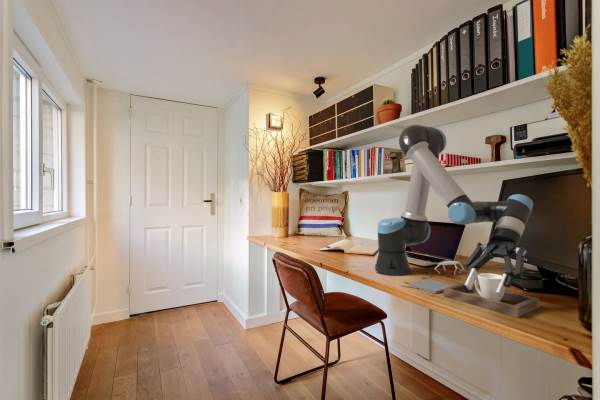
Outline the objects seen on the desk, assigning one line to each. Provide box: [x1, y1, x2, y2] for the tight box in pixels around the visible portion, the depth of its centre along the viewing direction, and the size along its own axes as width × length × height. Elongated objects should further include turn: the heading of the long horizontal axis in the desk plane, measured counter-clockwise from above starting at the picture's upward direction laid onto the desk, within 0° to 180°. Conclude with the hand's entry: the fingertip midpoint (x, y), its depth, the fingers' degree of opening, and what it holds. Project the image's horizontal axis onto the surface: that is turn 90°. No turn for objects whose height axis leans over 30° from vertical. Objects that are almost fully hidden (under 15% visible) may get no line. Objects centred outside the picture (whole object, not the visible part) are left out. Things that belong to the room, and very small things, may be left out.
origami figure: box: [433, 260, 465, 276], centre depth 123 cm, size 12×8×5 cm
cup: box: [474, 272, 503, 302], centre depth 89 cm, size 7×10×8 cm
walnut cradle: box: [443, 281, 540, 318], centre depth 89 cm, size 21×13×2 cm, turn 31°
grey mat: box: [407, 278, 454, 294], centre depth 104 cm, size 11×11×1 cm
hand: (482, 291), depth 87 cm, fingers closed on cup, 8 cm apart
